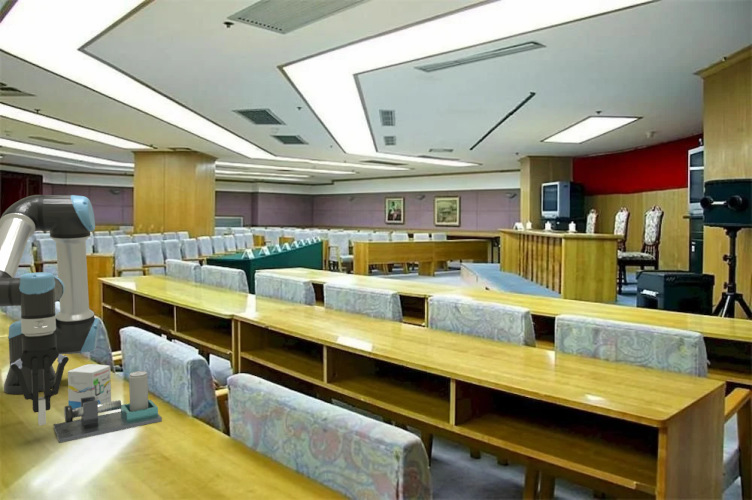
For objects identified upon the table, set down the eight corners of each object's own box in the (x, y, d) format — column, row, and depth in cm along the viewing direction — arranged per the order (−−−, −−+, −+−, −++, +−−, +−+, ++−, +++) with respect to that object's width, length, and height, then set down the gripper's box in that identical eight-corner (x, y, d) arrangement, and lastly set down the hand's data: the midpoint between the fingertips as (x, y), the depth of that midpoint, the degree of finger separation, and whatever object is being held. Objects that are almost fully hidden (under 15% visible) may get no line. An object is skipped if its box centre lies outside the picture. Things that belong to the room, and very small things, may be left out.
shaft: (64, 420, 145) (64, 404, 144) (118, 409, 153) (118, 394, 152) (66, 425, 141) (66, 408, 141) (122, 414, 149) (121, 398, 149)
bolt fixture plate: (53, 427, 147) (52, 399, 146) (150, 408, 161) (150, 382, 161) (59, 442, 137) (58, 412, 137) (161, 421, 152) (161, 393, 151)
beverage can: (152, 412, 155) (151, 371, 155) (139, 418, 151) (138, 376, 150) (138, 410, 157) (137, 370, 156) (126, 416, 152) (125, 374, 152)
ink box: (92, 411, 159) (91, 372, 159) (67, 409, 161) (66, 370, 160) (112, 401, 168) (111, 364, 167) (88, 399, 169) (87, 363, 169)
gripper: (9, 339, 131) (13, 433, 133) (70, 332, 139) (73, 421, 141) (7, 333, 137) (10, 424, 139) (65, 327, 145) (68, 413, 147)
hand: (42, 423), depth 140 cm, fingers closed
